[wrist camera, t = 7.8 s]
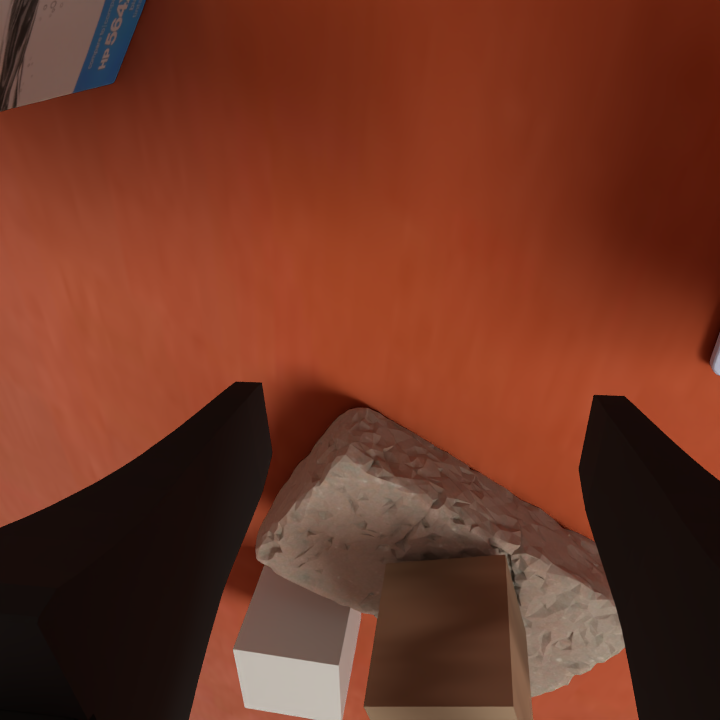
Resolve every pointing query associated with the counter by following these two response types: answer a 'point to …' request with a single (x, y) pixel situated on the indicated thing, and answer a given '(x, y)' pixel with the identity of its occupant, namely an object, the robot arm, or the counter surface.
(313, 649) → the grey block
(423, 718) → the walnut block
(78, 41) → the ink box
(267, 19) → the counter surface
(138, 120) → the counter surface
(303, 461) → the brick
